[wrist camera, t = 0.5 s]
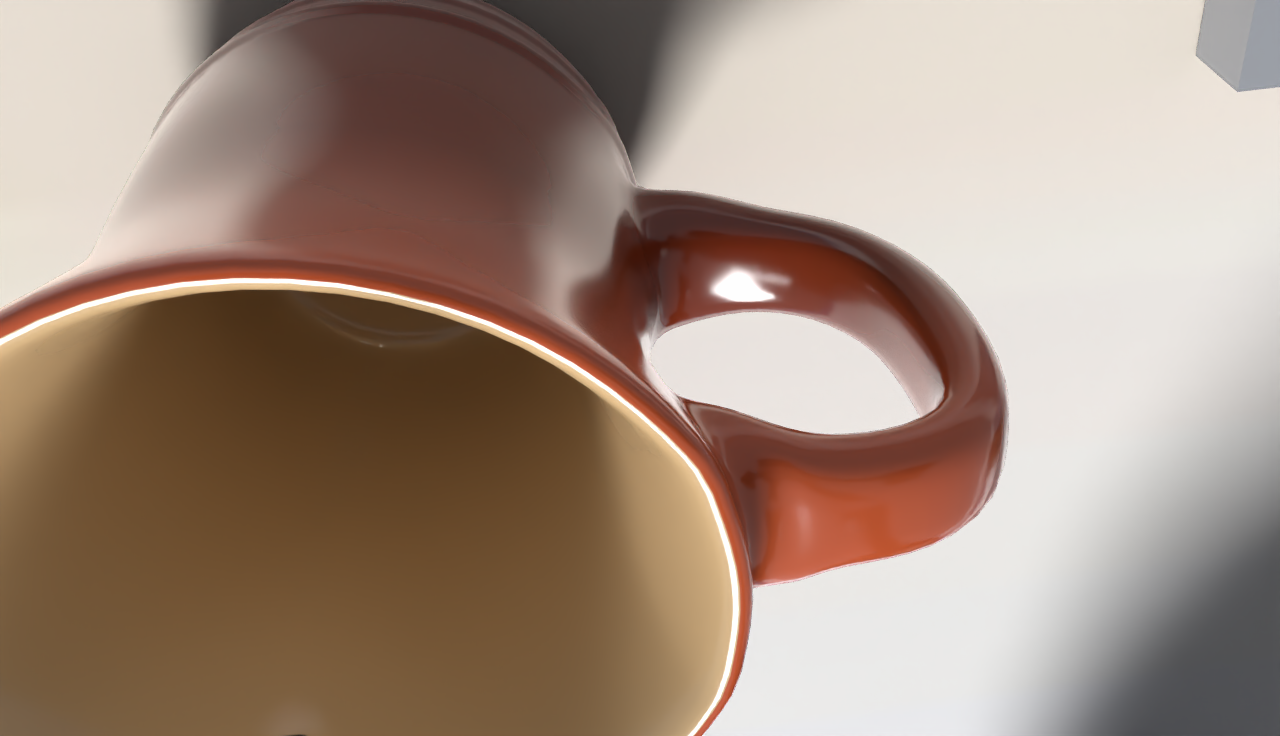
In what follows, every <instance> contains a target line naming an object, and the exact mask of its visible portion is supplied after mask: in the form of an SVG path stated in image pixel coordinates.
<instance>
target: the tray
mask: <svg viewBox="0 0 1280 736" xmlns="http://www.w3.org/2000/svg"><path fill="white" fill-rule="evenodd" d="M1196 56H1197V57H1198V58H1199V59H1200V60H1201V61H1203V62H1204V63H1205V64H1206V65H1207V66H1208V67H1209V68H1211V69H1212V70H1213V71H1214V72H1215V73H1216V74H1217V75H1219V76H1220V77H1221V78H1222V79H1223V80H1224V81H1225V82H1227V83H1228V84H1229V85H1230V86H1231V87H1232V88H1233V89H1235V90H1236V91H1237V92H1240V91H1249V90H1258V89H1266V88H1275V87H1280V0H1206V1H1205V6H1204V12H1203V17H1202V23H1201V28H1200V34H1199V40H1198V45H1197V51H1196Z"/></svg>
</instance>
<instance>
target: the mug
mask: <svg viewBox="0 0 1280 736" xmlns="http://www.w3.org/2000/svg"><path fill="white" fill-rule="evenodd" d="M741 312H776V313H784V314H791V315H797V316H801V317H805V318H809V319H813V320H816V321H819V322H821V323H824V324H827V325H830V326H832V327H834V328H836V329H838V330H840V331H843V332H845V333H846V334H848V335H850V336H851V337H853V338H855V339H856V340H858V341H859V342H861V343H862V344H863V345H865V346H866V347H867V348H869V349H870V350H871V351H872V352H874V353H875V354H876V355H877V356H878V357H879V358H880V359H881V360H882V361H883V363H884V364H885V365H886V366H887V367H888V368H889V369H890V371H891V372H892V374H893V375H894V376H895V378H896V379H897V380H898V382H899V383H900V384H901V386H902V388H903V389H904V391H905V392H906V394H907V395H908V397H909V398H910V400H911V402H912V404H913V405H914V407H915V409H916V411H917V412H918V414H919V416H920V418H919V419H916V420H913V421H911V422H908V423H906V424H903V425H899V426H895V427H891V428H887V429H882V430H876V431H870V432H861V433H849V434H824V433H811V432H803V431H798V430H794V429H789V428H786V427H783V426H779V425H776V424H773V423H770V422H767V421H764V420H761V419H758V418H755V417H753V416H750V415H747V414H744V413H741V412H738V411H735V410H732V409H728V408H724V407H721V406H716V405H711V404H706V403H702V402H698V401H694V400H691V399H687V398H685V397H683V396H681V395H678V394H676V393H675V392H674V391H673V390H671V389H670V388H669V387H668V386H667V385H666V384H665V383H664V381H663V380H662V378H661V377H660V375H659V374H658V372H657V371H656V369H655V368H654V367H653V365H652V363H651V349H652V347H653V345H654V344H655V342H656V340H657V339H658V338H659V337H660V336H661V335H663V334H664V333H665V332H667V331H669V330H671V329H673V328H676V327H679V326H682V325H685V324H688V323H691V322H695V321H698V320H702V319H706V318H710V317H715V316H720V315H726V314H732V313H741ZM1008 431H1009V411H1008V390H1007V386H1006V381H1005V378H1004V374H1003V371H1002V368H1001V365H1000V362H999V358H998V356H997V354H996V352H995V350H994V348H993V346H992V344H991V342H990V340H989V338H988V336H987V335H986V333H985V332H984V330H983V329H982V327H981V326H980V324H979V323H978V321H977V320H976V318H975V317H974V315H973V314H972V313H971V311H970V310H969V309H968V307H967V306H966V305H965V304H964V302H963V301H962V300H961V299H960V297H959V296H958V295H957V294H956V292H955V291H954V290H953V289H952V288H951V287H950V286H949V285H948V284H947V283H946V282H945V281H944V280H943V279H942V278H941V277H940V276H939V275H937V274H936V273H935V272H934V271H933V270H932V269H930V268H929V267H928V266H927V265H925V264H924V263H922V262H921V261H920V260H918V259H917V258H915V257H914V256H912V255H911V254H909V253H907V252H906V251H904V250H902V249H901V248H899V247H897V246H896V245H894V244H892V243H890V242H888V241H886V240H884V239H882V238H880V237H878V236H875V235H873V234H870V233H868V232H866V231H863V230H861V229H858V228H855V227H852V226H849V225H846V224H843V223H840V222H836V221H832V220H828V219H824V218H820V217H816V216H810V215H805V214H800V213H794V212H788V211H783V210H777V209H772V208H767V207H762V206H758V205H754V204H750V203H746V202H742V201H738V200H734V199H729V198H725V197H721V196H716V195H712V194H706V193H699V192H693V191H677V190H654V189H646V188H643V187H640V186H637V182H636V179H635V176H634V173H633V169H632V166H631V164H630V161H629V158H628V155H627V152H626V149H625V146H624V144H623V142H622V140H621V139H620V137H619V134H618V131H617V128H616V126H615V123H614V121H613V119H612V117H611V115H610V113H609V112H608V110H607V108H606V106H605V105H604V104H603V102H602V101H601V100H600V98H599V97H598V96H597V95H596V93H595V92H594V90H593V89H592V87H591V86H590V85H589V83H588V82H587V81H586V80H585V78H584V77H583V76H582V75H581V74H580V73H579V71H578V70H577V69H576V68H575V67H574V66H573V65H572V64H571V63H570V62H569V61H568V60H567V59H566V57H564V56H563V55H562V54H561V53H560V52H559V51H558V50H557V49H556V48H555V47H554V46H553V45H552V44H551V43H549V42H548V41H547V40H546V39H545V38H543V37H542V36H541V35H540V34H538V33H537V32H536V31H535V30H533V29H532V28H530V27H529V26H527V25H526V24H524V23H523V22H521V21H520V20H518V19H517V18H515V17H514V16H512V15H510V14H508V13H507V12H505V11H503V10H501V9H499V8H497V7H495V6H493V5H491V4H489V3H486V2H484V1H482V0H294V1H292V2H290V3H288V4H286V5H285V6H283V7H281V8H279V9H277V10H275V11H273V12H272V13H270V14H268V15H266V16H264V17H262V18H260V19H258V20H256V21H255V22H253V23H252V24H250V25H249V26H247V27H246V28H244V29H243V30H241V31H240V32H238V33H237V34H236V35H234V36H233V37H232V38H231V39H230V40H229V41H227V42H226V43H225V44H224V45H223V46H222V47H220V48H219V49H218V50H217V51H215V52H214V53H213V54H212V55H211V56H209V57H208V58H207V59H206V60H205V61H204V62H203V63H201V64H200V65H199V66H198V67H197V68H196V69H195V70H194V71H193V72H192V73H191V74H190V75H189V77H188V78H187V79H186V80H185V81H184V82H183V83H182V84H181V85H180V87H179V88H178V90H177V91H176V92H175V94H174V95H173V97H172V98H171V99H170V101H169V102H168V104H167V105H166V107H165V109H164V111H163V113H162V114H161V116H160V118H159V120H158V122H157V124H156V126H155V128H154V131H153V133H152V136H151V138H150V141H149V143H148V145H147V147H146V148H145V150H144V152H143V153H142V155H141V157H140V158H139V160H138V162H137V164H136V165H135V167H134V169H133V171H132V173H131V174H130V176H129V178H128V180H127V182H126V184H125V185H124V187H123V189H122V191H121V193H120V195H119V196H118V198H117V200H116V202H115V204H114V206H113V208H112V210H111V212H110V214H109V216H108V218H107V220H106V223H105V225H104V227H103V229H102V231H101V233H100V235H99V237H98V239H97V242H96V244H95V246H94V248H93V250H92V252H91V253H90V255H89V256H88V258H87V259H86V260H85V261H83V262H82V263H81V264H79V265H77V266H76V267H74V268H72V269H71V270H69V271H67V272H65V273H64V274H62V275H60V276H58V277H57V278H55V279H53V280H51V281H49V282H48V283H46V284H44V285H42V286H40V287H38V288H37V289H35V290H33V291H31V292H29V293H27V294H25V295H23V296H22V297H20V298H18V299H16V300H14V301H12V302H11V303H9V304H7V305H5V306H4V307H2V308H1V309H0V736H285V735H297V734H302V735H306V736H702V735H703V734H704V733H705V732H706V730H707V729H708V728H709V727H710V726H711V725H712V723H713V722H714V721H715V719H716V718H717V717H718V715H719V714H720V713H721V711H722V710H723V709H724V707H725V706H726V704H727V702H728V701H729V699H730V698H731V696H732V694H733V692H734V690H735V687H736V684H737V682H738V679H739V677H740V674H741V672H742V667H743V663H744V658H745V653H746V649H747V644H748V638H749V632H750V626H751V616H752V604H753V588H756V587H762V586H769V585H776V584H783V583H789V582H794V581H798V580H802V579H805V578H809V577H812V576H815V575H818V574H821V573H824V572H827V571H830V570H834V569H838V568H842V567H846V566H852V565H857V564H862V563H868V562H873V561H878V560H884V559H888V558H892V557H896V556H901V555H905V554H909V553H912V552H914V551H917V550H920V549H923V548H926V547H929V546H932V545H934V544H936V543H938V542H940V541H942V540H944V539H945V538H947V537H949V536H951V535H953V534H954V533H956V532H957V531H958V530H960V529H961V528H962V527H964V526H965V525H966V524H968V523H969V522H970V521H971V520H973V519H974V518H975V517H976V516H977V515H978V514H979V513H980V512H981V510H982V509H983V508H984V507H985V505H986V504H987V503H988V502H989V500H990V499H991V498H992V496H993V494H994V491H995V489H996V487H997V484H998V481H999V478H1000V476H1001V473H1002V470H1003V467H1004V463H1005V458H1006V451H1007V443H1008Z"/></svg>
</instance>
